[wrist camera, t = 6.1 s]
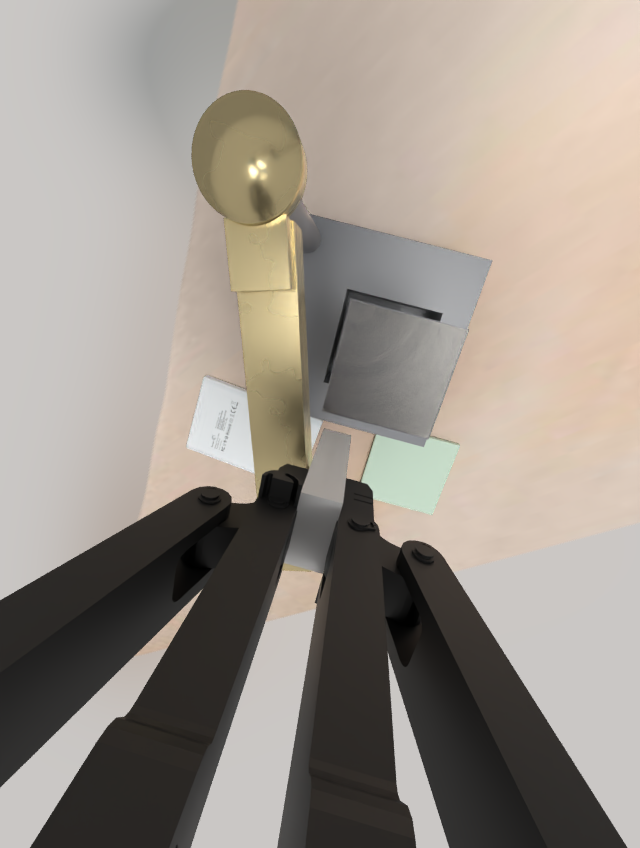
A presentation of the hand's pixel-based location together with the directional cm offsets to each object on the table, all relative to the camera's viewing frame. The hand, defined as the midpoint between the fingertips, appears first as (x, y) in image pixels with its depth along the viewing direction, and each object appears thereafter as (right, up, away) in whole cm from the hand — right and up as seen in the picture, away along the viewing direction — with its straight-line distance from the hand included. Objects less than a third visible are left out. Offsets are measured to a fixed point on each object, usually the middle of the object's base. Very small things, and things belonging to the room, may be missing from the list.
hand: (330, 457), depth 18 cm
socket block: (+3, +10, +16) cm, 19 cm away
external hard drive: (-7, +1, +21) cm, 22 cm away
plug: (+5, +9, +14) cm, 17 cm away
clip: (-2, +4, -1) cm, 5 cm away
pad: (+8, -3, +19) cm, 21 cm away
